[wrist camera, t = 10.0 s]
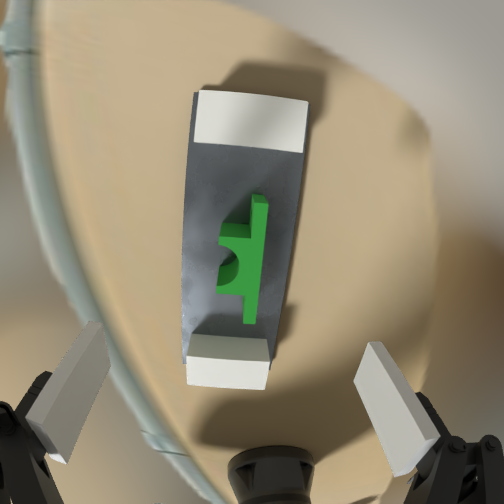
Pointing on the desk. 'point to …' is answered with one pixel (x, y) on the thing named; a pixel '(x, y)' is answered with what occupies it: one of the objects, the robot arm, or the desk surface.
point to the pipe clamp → (245, 258)
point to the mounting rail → (237, 212)
